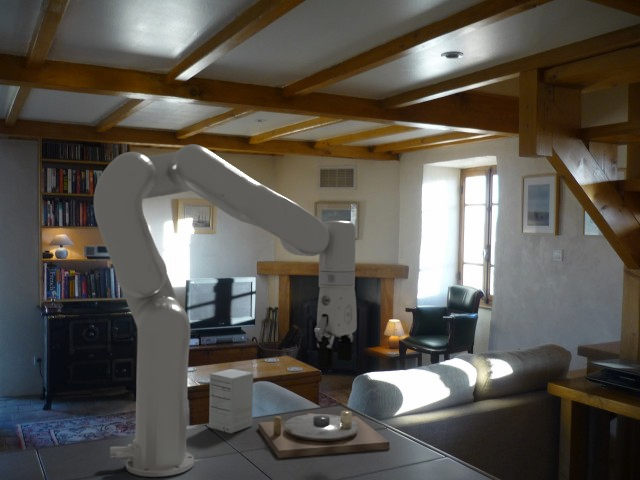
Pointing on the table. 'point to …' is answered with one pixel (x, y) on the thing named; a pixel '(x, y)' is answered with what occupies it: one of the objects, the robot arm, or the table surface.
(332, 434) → the flange plate
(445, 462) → the table surface
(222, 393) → the supplement box
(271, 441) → the base board
